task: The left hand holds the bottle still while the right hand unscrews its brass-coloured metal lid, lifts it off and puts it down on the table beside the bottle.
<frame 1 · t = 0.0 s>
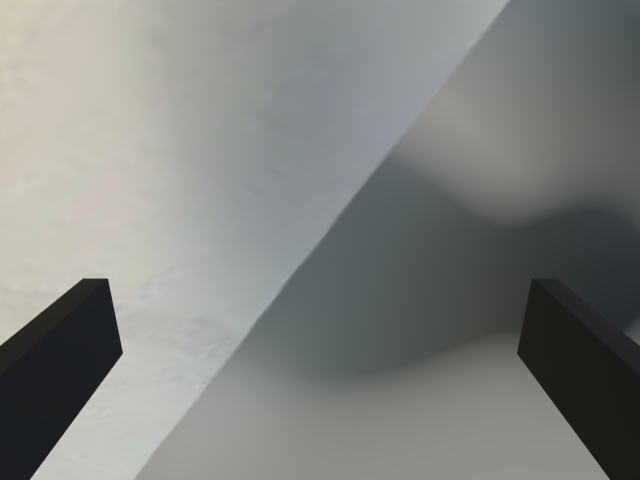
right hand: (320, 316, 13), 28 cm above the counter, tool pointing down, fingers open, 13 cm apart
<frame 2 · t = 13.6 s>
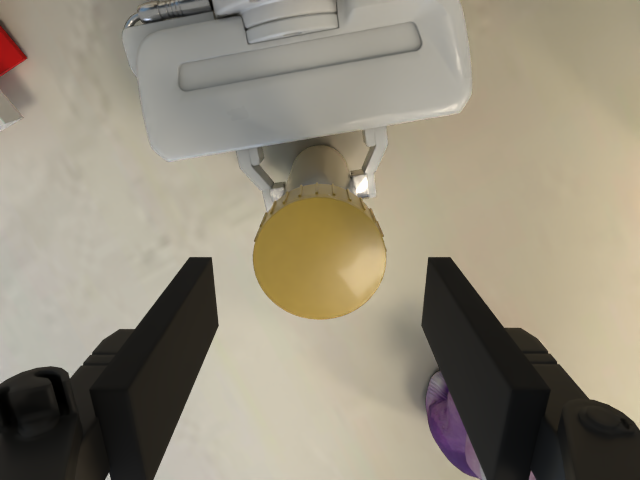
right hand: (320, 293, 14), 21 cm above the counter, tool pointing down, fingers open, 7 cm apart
left hand: (322, 203, 29), fingers closed on bottle, 5 cm apart
lid: (319, 258, 17), point 18 cm above the counter, screwed on, not yet turned
figurine: (458, 388, 42), on the counter
bottle: (319, 173, 34), on the counter, touching left hand
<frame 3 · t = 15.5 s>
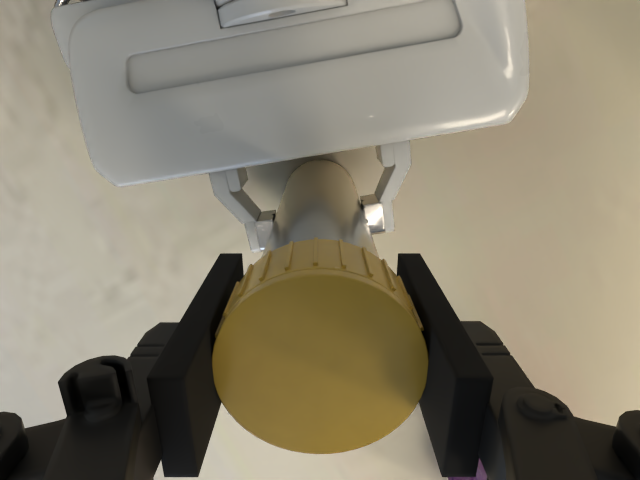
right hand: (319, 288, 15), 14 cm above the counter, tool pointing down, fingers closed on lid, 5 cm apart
left hand: (323, 238, 22), fingers closed on bottle, 5 cm apart
lid: (320, 364, 11), point 18 cm above the counter, screwed on, not yet turned, touching right hand
bottle: (320, 194, 28), on the counter, touching left hand
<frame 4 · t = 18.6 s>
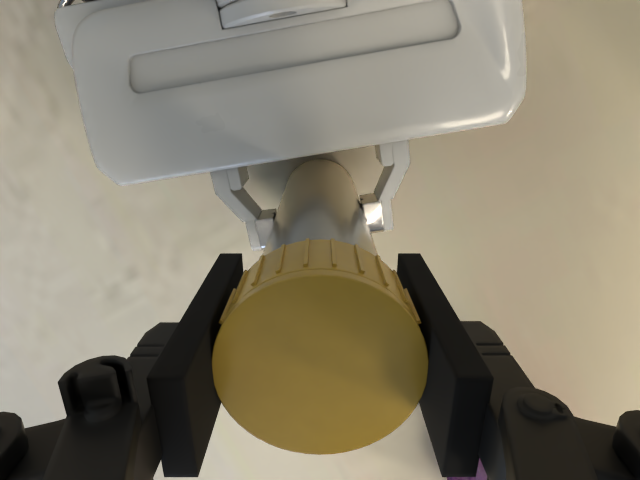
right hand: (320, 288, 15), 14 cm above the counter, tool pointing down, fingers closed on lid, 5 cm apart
left hand: (323, 237, 22), fingers closed on bottle, 5 cm apart
lid: (319, 364, 11), point 18 cm above the counter, turned 91° so far, risen 0.3 cm, still on its thread, touching right hand
bottle: (320, 193, 28), on the counter, touching left hand
when the right hand's fingers open (0 cm above the counter, at t = 25.2 s): lid drops 2 cm, point 2 cm above the counter.
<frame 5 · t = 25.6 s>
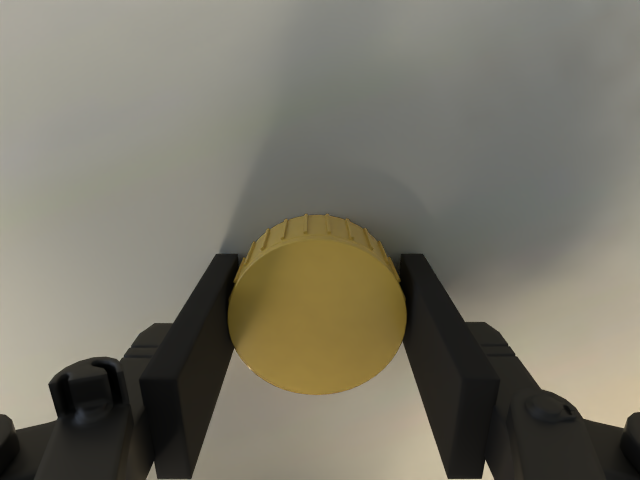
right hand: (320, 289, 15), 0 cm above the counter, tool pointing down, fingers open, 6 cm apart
lid: (317, 317, 13), point 2 cm above the counter, off its thread
when the left hand's fingers open (6 cm above the counter, at t = 27.0 s): bottle stays where it is, on the counter.
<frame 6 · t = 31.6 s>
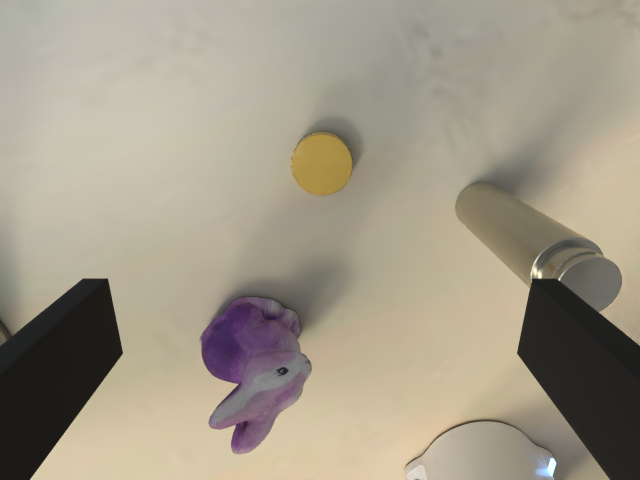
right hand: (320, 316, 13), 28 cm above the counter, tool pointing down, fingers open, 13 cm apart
lid: (321, 165, 37), point 2 cm above the counter, off its thread
figurine: (260, 322, 46), on the counter
bottle: (478, 205, 41), on the counter
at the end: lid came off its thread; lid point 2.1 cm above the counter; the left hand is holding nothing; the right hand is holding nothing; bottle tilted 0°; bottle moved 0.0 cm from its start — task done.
